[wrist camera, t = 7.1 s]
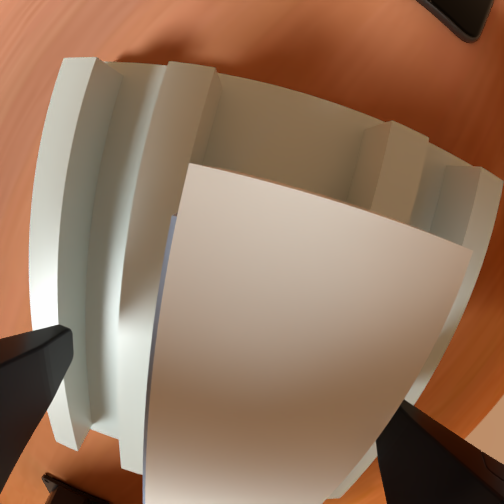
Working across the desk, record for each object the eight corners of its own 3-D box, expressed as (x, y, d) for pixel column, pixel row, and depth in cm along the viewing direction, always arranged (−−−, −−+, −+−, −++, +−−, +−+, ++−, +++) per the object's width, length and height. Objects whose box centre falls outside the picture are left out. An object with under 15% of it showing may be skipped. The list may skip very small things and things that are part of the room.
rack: (329, 461, 14) (339, 502, 11) (77, 408, 13) (54, 445, 10) (459, 165, 10) (509, 169, 7) (105, 68, 9) (64, 43, 6)
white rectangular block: (239, 430, 11) (235, 576, 5) (179, 417, 11) (145, 562, 4) (317, 193, 9) (476, 252, 2) (233, 170, 9) (182, 162, 2)
